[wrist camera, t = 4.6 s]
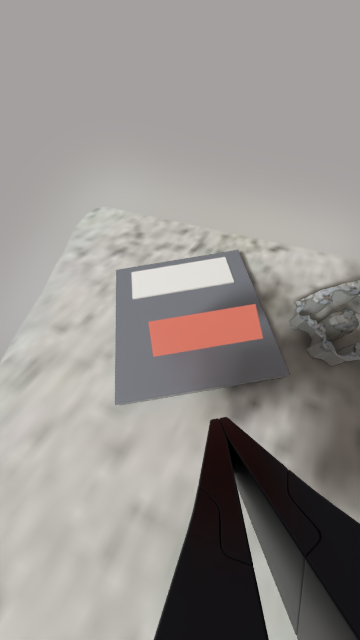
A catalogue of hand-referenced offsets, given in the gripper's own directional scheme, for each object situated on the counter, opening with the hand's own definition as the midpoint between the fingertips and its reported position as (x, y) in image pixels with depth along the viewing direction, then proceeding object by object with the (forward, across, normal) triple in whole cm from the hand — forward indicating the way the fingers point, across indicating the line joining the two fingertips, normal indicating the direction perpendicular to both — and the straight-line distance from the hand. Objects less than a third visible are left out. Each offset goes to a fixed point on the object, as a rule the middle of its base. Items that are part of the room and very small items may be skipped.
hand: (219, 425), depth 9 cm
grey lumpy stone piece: (+11, +16, -2) cm, 20 cm away
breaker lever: (+10, 0, 0) cm, 10 cm away
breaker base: (+14, 0, +1) cm, 14 cm away
